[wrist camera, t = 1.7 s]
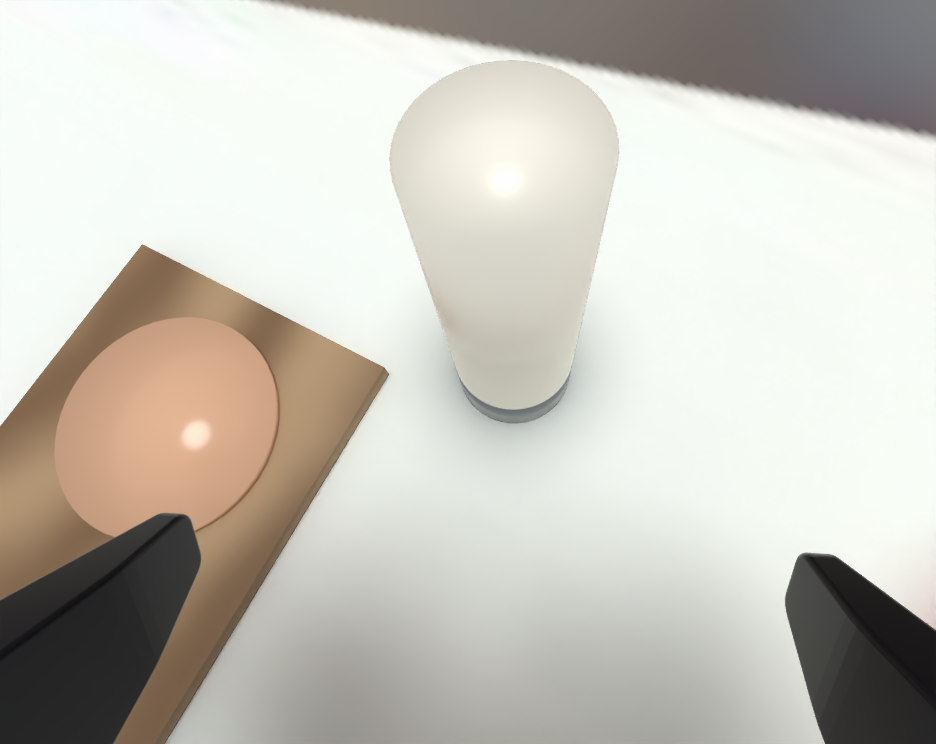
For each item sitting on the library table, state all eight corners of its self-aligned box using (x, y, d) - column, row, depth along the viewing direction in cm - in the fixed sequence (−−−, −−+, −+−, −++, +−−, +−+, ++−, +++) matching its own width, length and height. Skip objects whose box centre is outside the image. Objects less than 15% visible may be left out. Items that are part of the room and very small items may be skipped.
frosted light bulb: (588, 347, 23) (656, 102, 11) (539, 442, 22) (555, 286, 10) (491, 303, 24) (458, 34, 12) (440, 392, 23) (347, 196, 11)
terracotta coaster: (322, 378, 23) (319, 374, 23) (188, 588, 21) (182, 588, 21) (155, 288, 25) (149, 284, 25) (17, 471, 23) (8, 469, 23)
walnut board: (388, 374, 24) (384, 367, 23) (-30, 1062, 18) (-54, 1084, 17) (153, 253, 27) (142, 244, 26) (-273, 806, 21) (-303, 815, 20)
